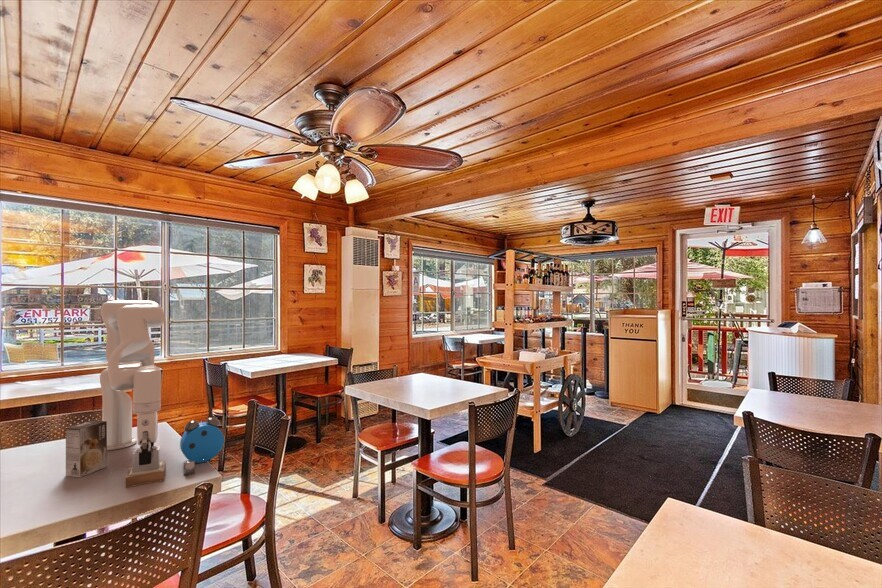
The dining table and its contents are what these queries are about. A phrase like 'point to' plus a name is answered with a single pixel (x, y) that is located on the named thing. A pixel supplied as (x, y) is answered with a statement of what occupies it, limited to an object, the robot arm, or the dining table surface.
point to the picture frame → (145, 475)
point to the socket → (189, 467)
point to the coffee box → (86, 448)
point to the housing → (154, 464)
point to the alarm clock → (202, 440)
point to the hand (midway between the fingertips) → (146, 459)
